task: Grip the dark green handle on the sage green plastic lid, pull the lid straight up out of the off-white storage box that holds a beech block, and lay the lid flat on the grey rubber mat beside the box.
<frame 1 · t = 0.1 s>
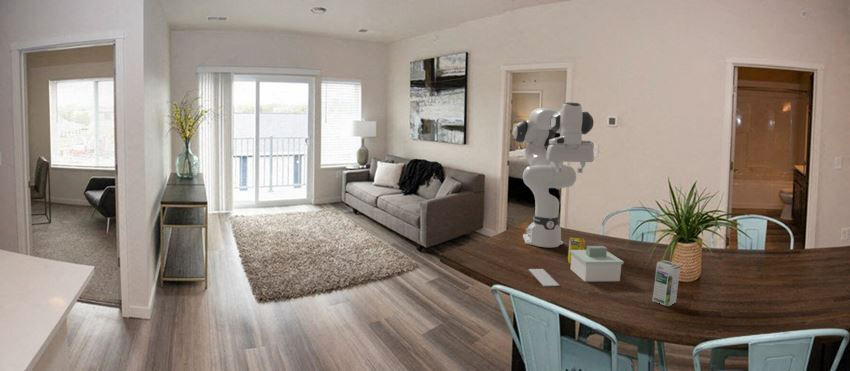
hand: (569, 172, 207), 39 cm above the table, tool pointing down, fingers open, 8 cm apart
syrup box: (663, 302, 168), on the table
beech block: (596, 273, 193), point 1 cm above the table, touching storage box
supplement box: (575, 264, 207), on the table
storage box: (594, 277, 191), on the table
lid: (595, 257, 190), point 8 cm above the table, touching storage box
rubber mat: (555, 277, 190), on the table
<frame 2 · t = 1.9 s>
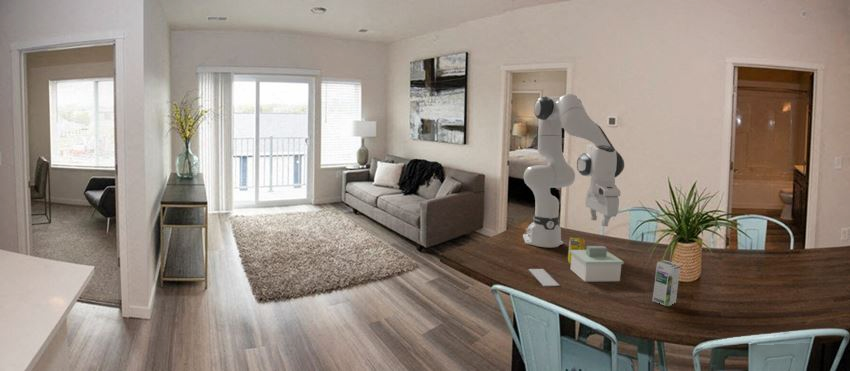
hand: (599, 222, 187), 22 cm above the table, tool pointing down, fingers open, 8 cm apart
nothing on the table moved.
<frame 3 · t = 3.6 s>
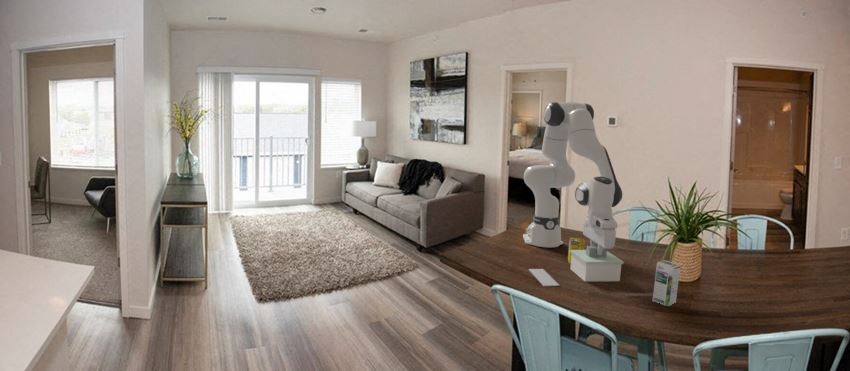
hand: (596, 252, 190), 10 cm above the table, tool pointing down, fingers closed on lid, 3 cm apart
lid: (595, 257, 190), point 8 cm above the table, touching gripper, storage box
everything else where it was.
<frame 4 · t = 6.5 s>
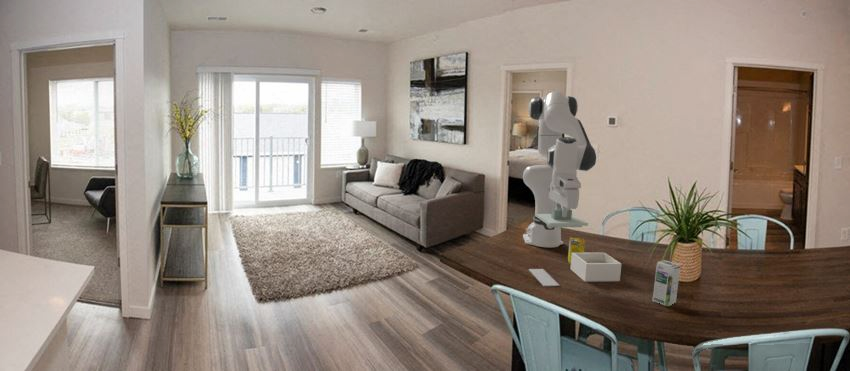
hand: (561, 215, 185), 25 cm above the table, tool pointing down, fingers closed on lid, 3 cm apart
lid: (560, 220, 186), point 23 cm above the table, touching gripper
everything else where it was.
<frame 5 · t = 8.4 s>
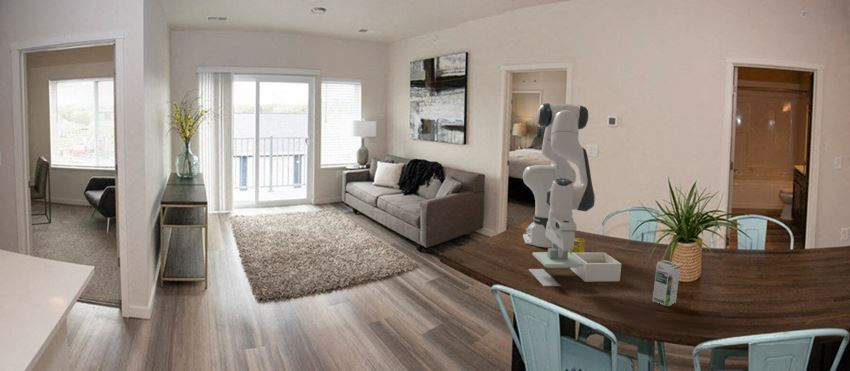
hand: (557, 255, 188), 9 cm above the table, tool pointing down, fingers closed on lid, 3 cm apart
lid: (557, 260, 188), point 7 cm above the table, touching gripper
everything else where it was.
when the fingers open (5 cm above the table, at t = 9.7 s): lid drops 1 cm, resting on rubber mat.
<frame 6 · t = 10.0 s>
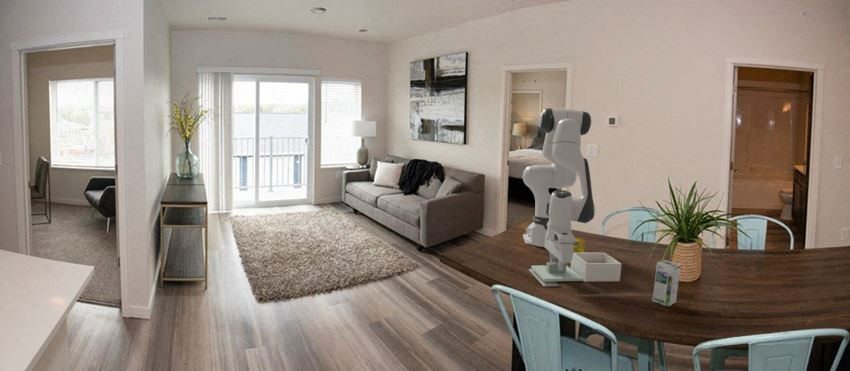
hand: (556, 266, 189), 5 cm above the table, tool pointing down, fingers open, 6 cm apart
lid: (555, 274, 189), point 1 cm above the table, touching rubber mat
everything else where it was.
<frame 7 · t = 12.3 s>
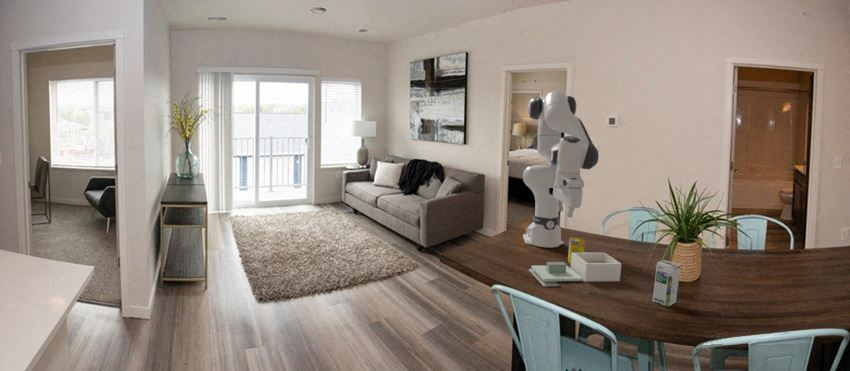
hand: (564, 214, 187), 25 cm above the table, tool pointing down, fingers open, 8 cm apart
nothing on the table moved.
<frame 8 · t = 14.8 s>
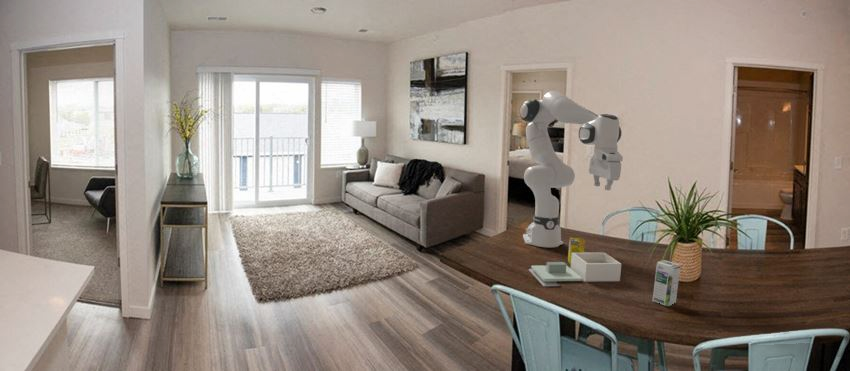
hand: (602, 188, 198), 34 cm above the table, tool pointing down, fingers open, 8 cm apart
nothing on the table moved.
at the end: lid inside the target area (0.1 cm from its centre), point 1.4 cm above the table; lid tilted 0°; the gripper is holding nothing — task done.
